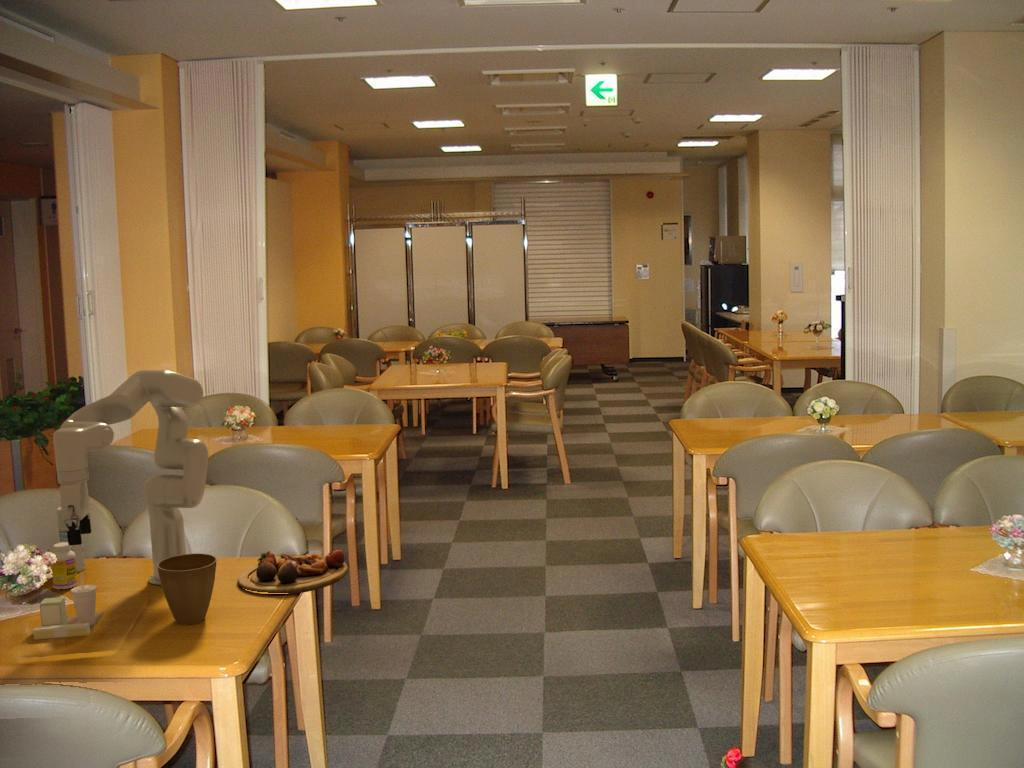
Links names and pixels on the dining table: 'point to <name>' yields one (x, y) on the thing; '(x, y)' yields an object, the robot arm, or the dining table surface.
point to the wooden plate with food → (294, 573)
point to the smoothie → (85, 602)
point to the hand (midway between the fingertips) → (80, 539)
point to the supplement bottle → (64, 567)
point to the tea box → (53, 611)
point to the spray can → (75, 548)
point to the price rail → (61, 631)
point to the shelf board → (74, 620)
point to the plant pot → (188, 585)
